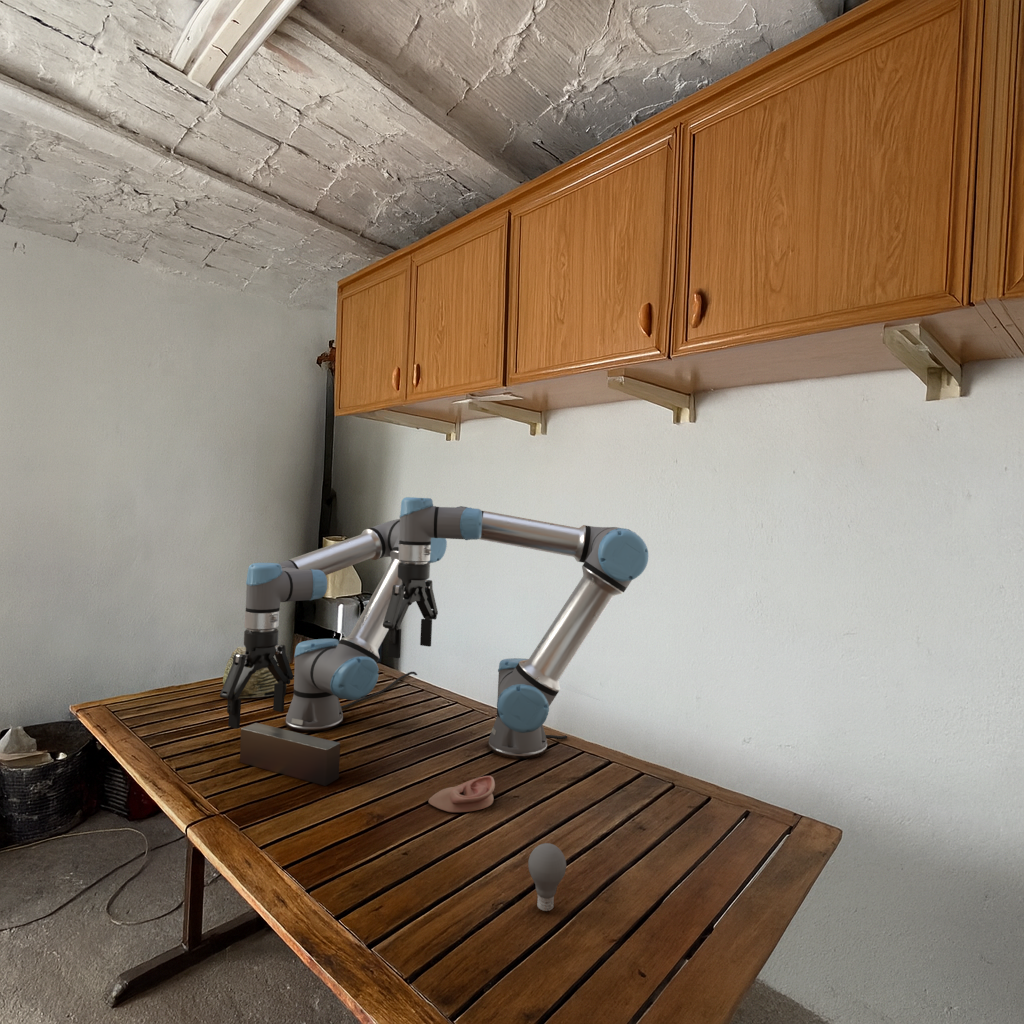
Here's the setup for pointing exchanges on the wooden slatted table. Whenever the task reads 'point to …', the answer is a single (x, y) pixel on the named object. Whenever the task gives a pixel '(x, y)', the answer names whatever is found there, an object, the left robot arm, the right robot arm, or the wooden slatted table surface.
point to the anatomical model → (465, 796)
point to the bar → (290, 753)
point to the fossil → (254, 680)
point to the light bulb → (546, 873)
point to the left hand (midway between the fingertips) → (257, 718)
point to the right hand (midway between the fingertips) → (410, 651)
